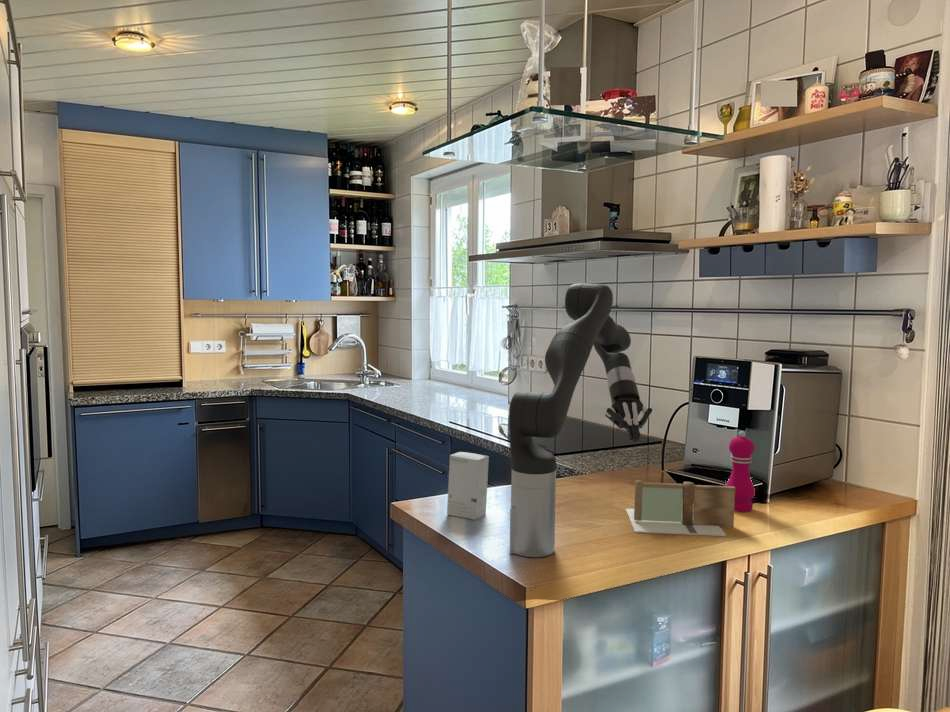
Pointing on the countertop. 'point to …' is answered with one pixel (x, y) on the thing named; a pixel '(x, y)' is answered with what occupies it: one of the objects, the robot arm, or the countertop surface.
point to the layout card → (673, 527)
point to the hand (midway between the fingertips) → (635, 440)
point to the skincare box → (467, 485)
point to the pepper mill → (741, 472)
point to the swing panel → (658, 501)
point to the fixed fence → (708, 505)
